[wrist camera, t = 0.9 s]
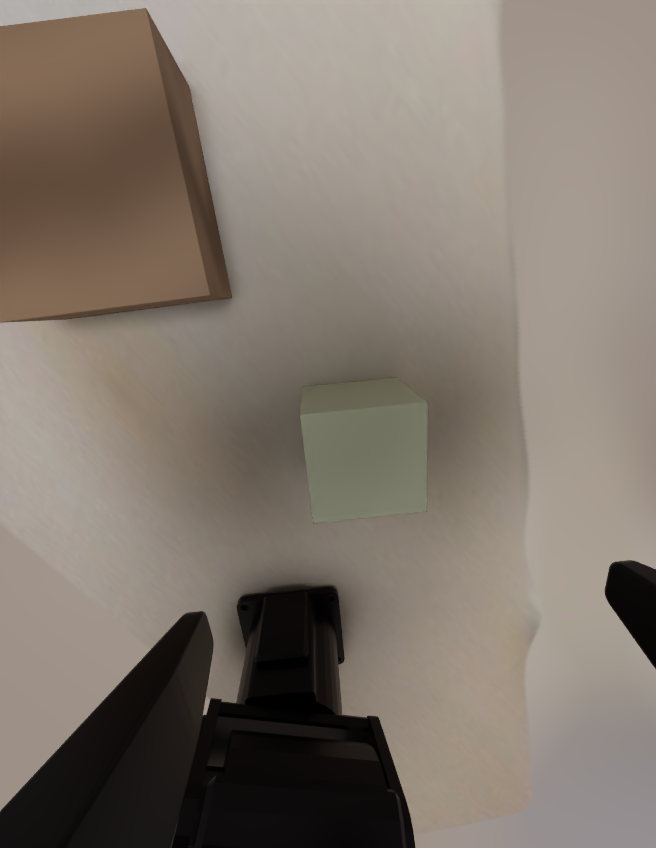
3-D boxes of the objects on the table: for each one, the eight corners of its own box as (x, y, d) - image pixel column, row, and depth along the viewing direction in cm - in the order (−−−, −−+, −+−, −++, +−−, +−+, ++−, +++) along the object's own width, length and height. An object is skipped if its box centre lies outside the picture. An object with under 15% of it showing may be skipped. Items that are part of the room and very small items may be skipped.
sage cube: (398, 462, 20) (426, 511, 15) (312, 471, 19) (313, 523, 15) (396, 377, 18) (427, 401, 13) (302, 386, 18) (299, 414, 13)
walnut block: (233, 297, 16) (209, 294, 13) (69, 319, 16) (-3, 322, 13) (191, 90, 14) (146, 8, 10) (-4, 115, 14) (-124, 41, 10)
